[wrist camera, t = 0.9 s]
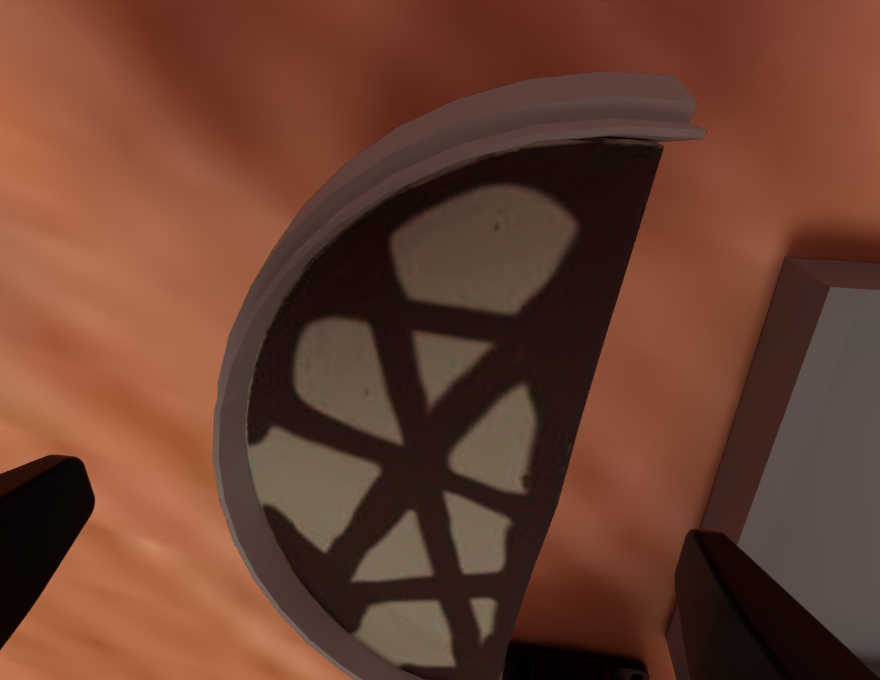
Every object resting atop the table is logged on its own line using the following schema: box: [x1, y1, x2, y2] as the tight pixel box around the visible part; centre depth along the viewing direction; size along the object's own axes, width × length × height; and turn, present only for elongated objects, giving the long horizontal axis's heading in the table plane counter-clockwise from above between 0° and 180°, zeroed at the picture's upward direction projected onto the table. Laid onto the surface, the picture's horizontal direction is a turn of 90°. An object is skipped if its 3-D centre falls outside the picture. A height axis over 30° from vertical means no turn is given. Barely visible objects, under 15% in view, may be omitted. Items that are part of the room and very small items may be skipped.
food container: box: [213, 71, 707, 680], centre depth 13 cm, size 12×6×10 cm, turn 172°
